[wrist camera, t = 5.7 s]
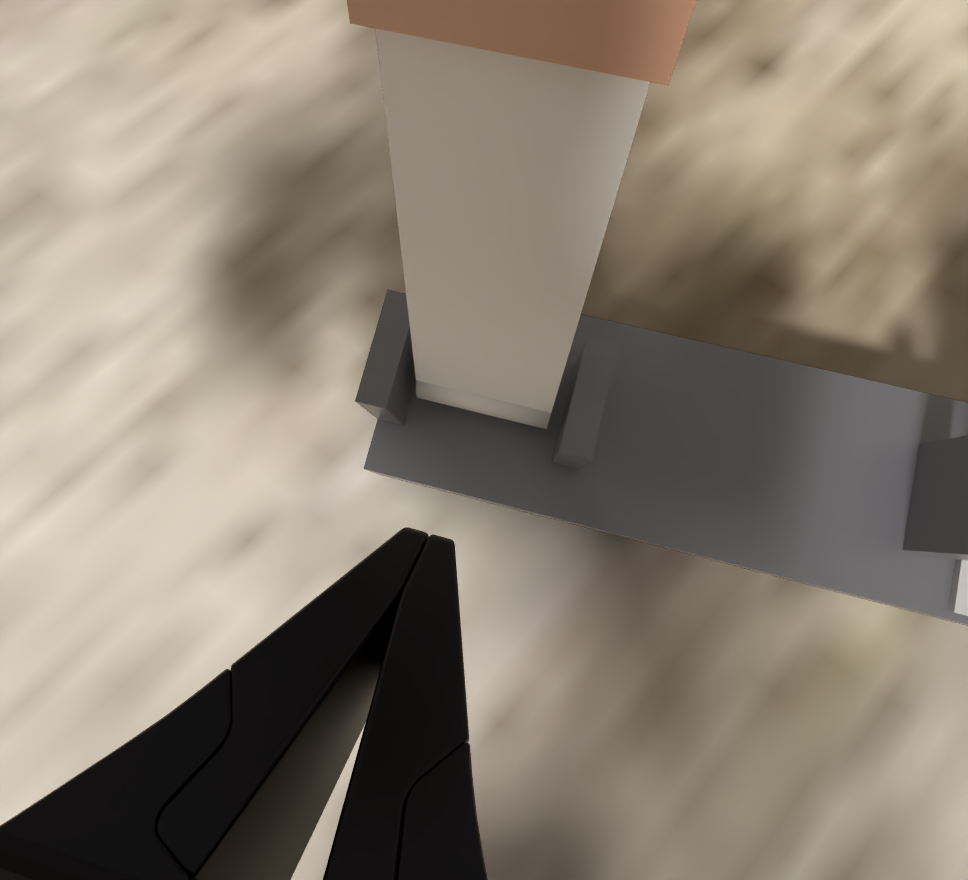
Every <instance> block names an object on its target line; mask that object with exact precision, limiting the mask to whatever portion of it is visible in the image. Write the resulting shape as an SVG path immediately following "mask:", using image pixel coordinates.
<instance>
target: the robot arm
mask: <svg viewBox="0 0 968 880" xmlns="http://www.w3.org/2000/svg"><path fill="white" fill-rule="evenodd" d="M365 722H366V724H365ZM364 724H365V727H364ZM363 727H364V731H363V735H362V738H361V742H360V746H359V749H358V753H357V757H356V760H355V764H354V768H353V771H352V775H351V779H350V782H349V786H348V790H347V793H346V797H345V801H344V804H343V808H342V812H341V815H340V819H339V823H338V826H337V830H336V834H335V837H334V841H333V845H332V848H331V852H330V856H329V859H328V863H327V867H326V870H325V874H324V878H323V880H488V879H487V874H486V869H485V863H484V857H483V851H482V846H481V840H480V834H479V828H478V821H477V815H476V806H475V797H474V787H473V778H472V767H471V753H470V745H469V743H468V741H469V730H468V716H467V703H466V690H465V676H464V663H463V650H462V636H461V623H460V610H459V596H458V583H457V570H456V556H455V544H454V542H453V540H451V539H447V538H444V537H440V536H437V535H430V536H428V534H427V533H425V532H422V531H419V530H415V529H411V528H403V529H402V530H400V531H399V532H398V533H396V534H395V535H394V536H393V537H391V538H390V539H389V540H388V541H386V542H385V543H384V544H383V545H381V546H380V547H379V548H378V549H376V550H375V551H374V552H373V553H371V554H370V555H369V556H368V557H366V558H365V559H364V560H363V561H361V562H360V563H359V564H358V565H356V566H355V567H354V568H353V569H351V570H350V571H349V572H348V573H346V574H345V575H344V576H343V577H341V578H340V579H339V580H338V581H336V582H335V583H334V584H333V585H331V586H330V587H329V588H327V589H326V590H325V591H324V592H322V593H321V594H320V595H319V596H317V597H316V598H315V599H314V600H312V601H311V602H310V603H309V604H307V605H306V606H305V607H304V608H302V609H301V610H300V611H299V612H297V613H296V614H295V615H294V616H292V617H291V618H290V619H289V620H287V621H286V622H285V623H284V624H282V625H281V626H280V627H279V628H277V629H276V630H275V631H274V632H272V633H271V634H270V635H269V636H267V637H266V638H265V639H264V640H262V641H261V642H260V643H259V644H257V645H256V646H255V647H254V648H252V649H251V650H250V651H249V652H247V653H246V654H245V655H244V656H242V657H241V658H240V659H238V660H237V661H236V662H235V663H233V664H232V666H231V671H230V670H229V669H226V670H224V671H223V672H222V673H221V674H219V675H218V676H217V677H216V678H214V679H213V680H212V681H211V682H209V683H208V684H207V685H206V686H204V687H203V688H202V689H201V690H199V691H198V692H197V693H195V694H194V695H193V696H191V697H190V698H189V699H187V700H186V701H185V702H183V703H182V704H181V705H179V706H178V707H177V708H175V709H174V710H173V711H171V712H170V713H169V714H168V715H166V716H165V717H163V718H162V719H160V720H159V721H157V722H156V723H155V724H153V725H152V726H150V727H149V728H147V729H146V730H144V731H143V732H141V733H140V734H139V735H137V736H136V737H134V738H133V739H131V740H130V741H128V742H127V743H125V744H124V745H122V746H121V747H119V748H118V749H116V750H115V751H113V752H112V753H110V754H109V755H107V756H106V757H104V758H103V759H101V760H100V761H98V762H97V763H95V764H94V765H92V766H91V767H89V768H88V769H86V770H85V771H83V772H81V773H80V774H78V775H77V776H75V777H74V778H72V779H71V780H69V781H68V782H66V783H65V784H63V785H62V786H60V787H59V788H57V789H56V790H54V791H53V792H51V793H50V794H48V795H47V796H45V797H44V798H42V799H41V800H39V801H37V802H36V803H34V804H33V805H31V806H30V807H28V808H27V809H25V810H24V811H22V812H21V813H19V814H18V815H16V816H15V817H13V818H12V819H10V820H8V821H7V822H5V823H4V824H2V825H1V826H0V880H291V877H292V875H293V873H294V871H295V869H296V867H297V865H298V863H299V861H300V859H301V856H302V854H303V852H304V850H305V848H306V846H307V844H308V842H309V840H310V838H311V836H312V833H313V831H314V829H315V827H316V825H317V823H318V821H319V819H320V817H321V815H322V812H323V810H324V808H325V806H326V804H327V802H328V800H329V798H330V796H331V794H332V791H333V789H334V787H335V785H336V783H337V781H338V779H339V777H340V775H341V773H342V771H343V768H344V766H345V764H346V762H347V760H348V758H349V756H350V754H351V752H352V750H353V747H354V745H355V743H356V741H357V739H358V737H359V735H360V733H361V731H362V729H363Z"/></svg>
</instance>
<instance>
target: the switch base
mask: <svg viewBox="0 0 968 880" xmlns="http://www.w3.org/2000/svg"><path fill="white" fill-rule="evenodd" d="M355 402H357V403H358V404H359V405H361V406H362V407H363V408H364V409H366V410H367V411H368V412H369V413H371V414H372V415H373V416H375V417H376V418H377V419H378V420H377V424H376V427H375V431H374V434H373V438H372V441H371V445H370V448H369V452H368V455H367V459H366V462H365V466H364V469H366V470H369V471H371V472H374V473H377V474H380V475H384V476H387V477H391V478H395V479H399V480H403V481H407V482H411V483H415V484H419V485H422V486H426V487H430V488H434V489H438V490H442V491H446V492H450V493H454V494H457V495H461V496H465V497H469V498H473V499H477V500H481V501H485V502H489V503H492V504H496V505H500V506H504V507H508V508H512V509H516V510H520V511H524V512H528V513H531V514H535V515H539V516H543V517H547V518H551V519H555V520H559V521H563V522H566V523H570V524H574V525H578V526H582V527H586V528H590V529H594V530H598V531H601V532H605V533H609V534H613V535H617V536H621V537H625V538H629V539H633V540H636V541H640V542H644V543H648V544H652V545H656V546H660V547H664V548H668V549H671V550H675V551H679V552H683V553H687V554H691V555H695V556H699V557H703V558H706V559H710V560H714V561H718V562H722V563H726V564H730V565H734V566H738V567H741V568H745V569H749V570H753V571H757V572H761V573H765V574H769V575H773V576H776V577H780V578H784V579H788V580H792V581H796V582H800V583H804V584H808V585H812V586H815V587H819V588H823V589H827V590H831V591H835V592H839V593H843V594H847V595H850V596H854V597H858V598H862V599H866V600H870V601H874V602H878V603H882V604H885V605H889V606H893V607H897V608H901V609H905V610H909V611H913V612H917V613H920V614H924V615H928V616H932V617H936V618H940V619H944V620H948V621H952V622H955V623H959V624H963V625H967V626H968V402H963V401H959V400H955V399H950V398H946V397H941V396H937V395H933V394H928V393H924V392H920V391H915V390H911V389H906V388H902V387H898V386H893V385H889V384H884V383H880V382H876V381H871V380H867V379H863V378H858V377H854V376H849V375H845V374H841V373H836V372H832V371H828V370H823V369H819V368H814V367H810V366H806V365H801V364H797V363H793V362H788V361H784V360H779V359H775V358H771V357H766V356H762V355H758V354H753V353H749V352H744V351H740V350H736V349H731V348H727V347H723V346H718V345H714V344H709V343H705V342H701V341H696V340H692V339H687V338H683V337H679V336H674V335H670V334H666V333H661V332H657V331H652V330H648V329H644V328H639V327H635V326H631V325H626V324H622V323H617V322H613V321H609V320H604V319H600V318H596V317H591V316H587V315H582V314H581V315H580V319H579V322H578V325H577V329H576V332H575V335H574V339H573V342H572V345H571V349H570V352H569V355H568V359H567V362H566V365H565V369H564V372H563V375H562V379H561V382H560V385H559V389H558V392H557V395H556V399H555V402H554V405H553V409H552V412H551V415H550V419H549V422H548V426H547V429H543V428H539V427H535V426H531V425H527V424H523V423H519V422H515V421H511V420H506V419H502V418H498V417H494V416H490V415H486V414H482V413H478V412H474V411H470V410H466V409H462V408H457V407H453V406H449V405H445V404H441V403H437V402H433V401H429V400H425V399H421V398H417V396H416V376H415V367H414V359H413V350H412V341H411V333H410V324H409V315H408V307H407V298H406V294H405V293H400V292H396V291H392V290H387V294H386V297H385V300H384V304H383V307H382V311H381V314H380V318H379V321H378V324H377V328H376V331H375V335H374V338H373V342H372V345H371V348H370V352H369V355H368V359H367V362H366V366H365V369H364V372H363V376H362V379H361V383H360V386H359V390H358V393H357V396H356V400H355Z"/></svg>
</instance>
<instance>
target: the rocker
mask: <svg viewBox="0 0 968 880" xmlns="http://www.w3.org/2000/svg"><path fill="white" fill-rule="evenodd" d="M695 3H696V0H347V4H348V11H349V18H350V23H351V24H356V25H361V26H366V27H371V28H375V29H376V38H377V47H378V55H379V64H380V73H381V81H382V90H383V99H384V107H385V116H386V125H387V133H388V142H389V151H390V159H391V168H392V177H393V185H394V194H395V203H396V211H397V220H398V229H399V237H400V246H401V255H402V263H403V272H404V281H405V289H406V298H407V307H408V315H409V324H410V333H411V341H412V350H413V359H414V367H415V376H416V396H417V398H421V399H425V400H429V401H433V402H437V403H441V404H445V405H449V406H453V407H457V408H462V409H466V410H470V411H474V412H478V413H482V414H486V415H490V416H494V417H498V418H502V419H506V420H511V421H515V422H519V423H523V424H527V425H531V426H535V427H539V428H543V429H547V426H548V422H549V419H550V415H551V412H552V409H553V405H554V402H555V399H556V395H557V392H558V389H559V385H560V382H561V379H562V375H563V372H564V369H565V365H566V362H567V359H568V355H569V352H570V349H571V345H572V342H573V339H574V335H575V332H576V329H577V325H578V322H579V319H580V315H581V312H582V309H583V305H584V302H585V299H586V295H587V292H588V289H589V285H590V282H591V279H592V275H593V272H594V269H595V265H596V262H597V259H598V255H599V252H600V249H601V245H602V242H603V239H604V235H605V232H606V229H607V225H608V222H609V219H610V215H611V212H612V209H613V205H614V202H615V199H616V195H617V192H618V189H619V185H620V182H621V179H622V175H623V172H624V169H625V165H626V162H627V159H628V155H629V152H630V149H631V145H632V142H633V139H634V135H635V132H636V129H637V125H638V122H639V119H640V115H641V112H642V109H643V105H644V102H645V99H646V95H647V92H648V89H649V85H650V82H653V83H658V84H663V85H669V82H670V79H671V76H672V73H673V70H674V67H675V64H676V61H677V58H678V55H679V52H680V49H681V46H682V43H683V39H684V36H685V33H686V30H687V27H688V24H689V21H690V18H691V15H692V12H693V9H694V6H695Z"/></svg>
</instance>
